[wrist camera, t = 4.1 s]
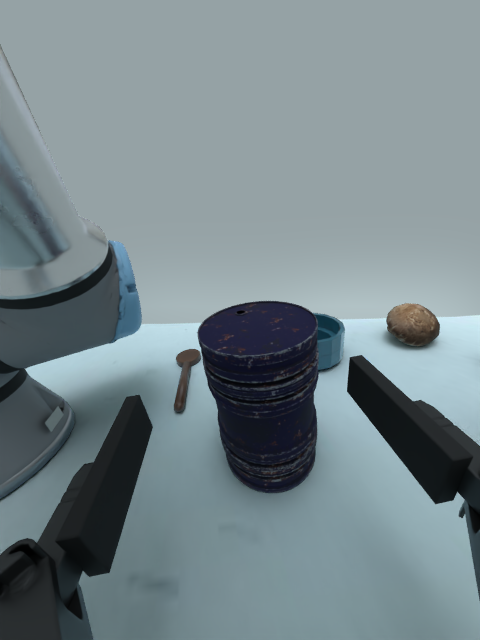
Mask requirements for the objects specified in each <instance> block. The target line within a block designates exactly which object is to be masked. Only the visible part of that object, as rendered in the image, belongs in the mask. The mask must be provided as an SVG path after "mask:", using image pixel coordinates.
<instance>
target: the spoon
mask: <svg viewBox="0 0 480 640" xmlns="http://www.w3.org/2000/svg"><path fill="white" fill-rule="evenodd" d="M200 359H201V355H200V352H199V351H198V350H196V349H189V350H185V351H183V352H181V353H179V354H178V355H177V357H176V360H177V364H178V365H179V366H181V367H182V371H181V375H180V380H179V385H178V390H177V394H176V399H175V404H174V410H175V411H176V412H181V411H183V409H184V407H185V400H186V394H187V387H188V381H189V375H190V368H191V366H193V365H195V364H197V363H198V362H199V361H200Z"/></svg>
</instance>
